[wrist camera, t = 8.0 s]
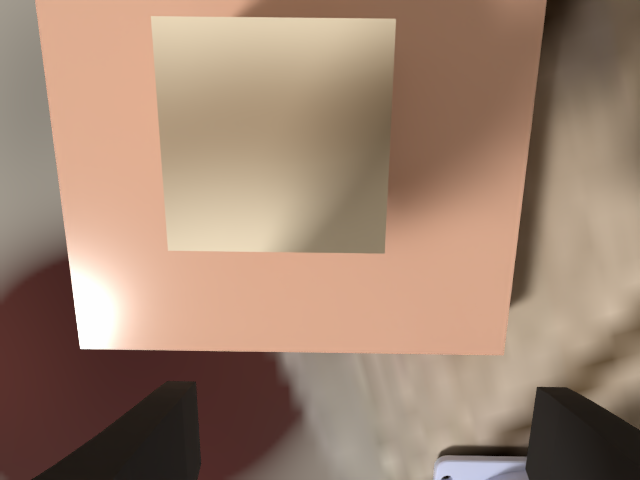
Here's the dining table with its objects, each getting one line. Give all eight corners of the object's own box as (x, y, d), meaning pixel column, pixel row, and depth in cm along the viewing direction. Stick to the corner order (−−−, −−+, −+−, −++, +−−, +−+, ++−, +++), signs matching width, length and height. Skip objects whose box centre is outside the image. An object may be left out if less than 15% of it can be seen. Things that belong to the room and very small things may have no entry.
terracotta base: (482, 324, 20) (503, 355, 18) (109, 319, 20) (80, 348, 18) (528, -105, 16) (563, -141, 14) (62, -109, 16) (16, -145, 14)
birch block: (367, 208, 16) (384, 253, 12) (214, 206, 16) (167, 250, 12) (373, 44, 15) (396, 18, 10) (206, 42, 15) (151, 16, 10)
